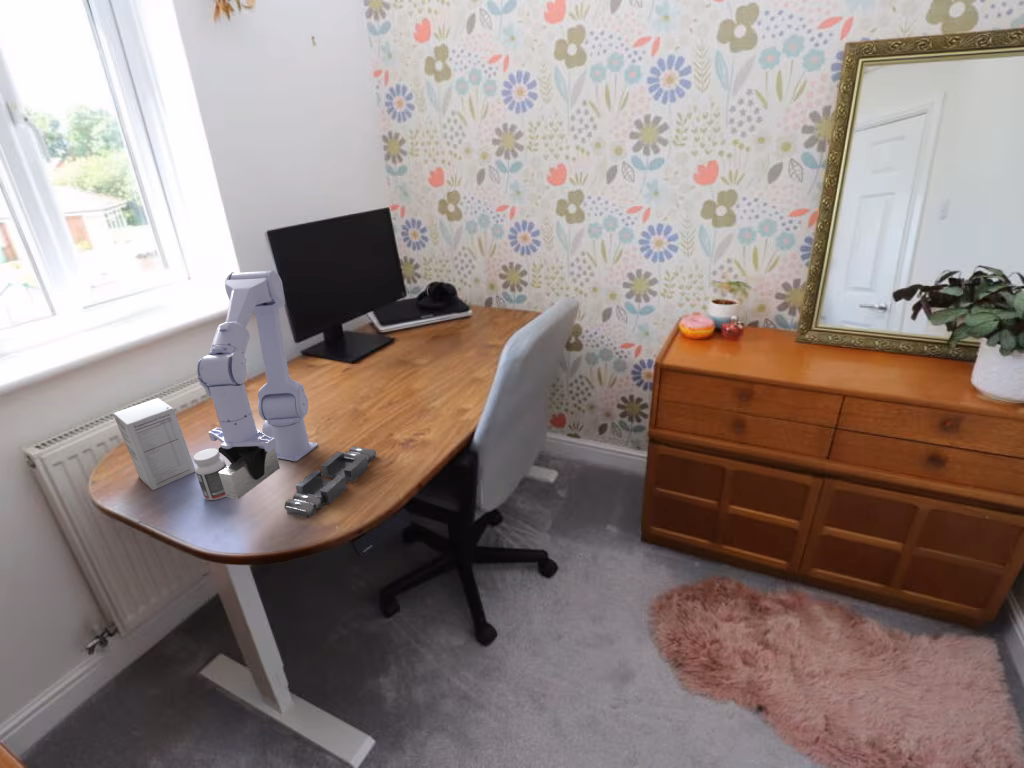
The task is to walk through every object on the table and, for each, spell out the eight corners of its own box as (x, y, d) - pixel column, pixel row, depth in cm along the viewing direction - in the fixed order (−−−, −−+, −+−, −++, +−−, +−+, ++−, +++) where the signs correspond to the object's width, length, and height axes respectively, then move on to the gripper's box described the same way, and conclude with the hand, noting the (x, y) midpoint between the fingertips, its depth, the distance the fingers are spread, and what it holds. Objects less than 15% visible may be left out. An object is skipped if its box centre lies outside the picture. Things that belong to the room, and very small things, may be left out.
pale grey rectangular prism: (226, 496, 101) (218, 472, 98) (268, 465, 110) (262, 443, 108) (238, 499, 100) (230, 475, 97) (279, 468, 109) (273, 445, 107)
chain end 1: (281, 511, 107) (278, 499, 106) (317, 481, 117) (314, 470, 115) (313, 519, 105) (310, 506, 104) (347, 487, 114) (344, 476, 113)
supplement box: (181, 458, 128) (159, 396, 121) (197, 471, 122) (175, 406, 115) (136, 477, 121) (111, 412, 114) (151, 491, 116) (125, 424, 109)
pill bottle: (238, 484, 117) (226, 446, 113) (226, 500, 112) (213, 460, 108) (212, 486, 117) (199, 447, 113) (199, 501, 112) (185, 462, 107)
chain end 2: (322, 476, 118) (320, 465, 117) (352, 451, 128) (350, 440, 127) (352, 482, 116) (350, 471, 115) (380, 456, 125) (378, 445, 124)
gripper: (187, 419, 98) (208, 480, 103) (248, 430, 93) (266, 493, 99) (218, 402, 104) (236, 461, 109) (277, 412, 99) (292, 473, 105)
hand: (252, 475), depth 104 cm, fingers closed on pale grey rectangular prism, 3 cm apart
